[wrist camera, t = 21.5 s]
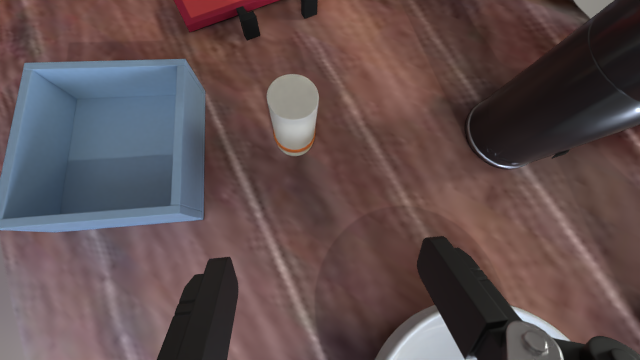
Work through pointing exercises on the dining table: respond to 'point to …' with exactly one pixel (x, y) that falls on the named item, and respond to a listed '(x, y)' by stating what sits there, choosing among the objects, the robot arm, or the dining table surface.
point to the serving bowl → (438, 337)
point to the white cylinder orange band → (293, 113)
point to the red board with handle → (230, 13)
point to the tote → (104, 146)
